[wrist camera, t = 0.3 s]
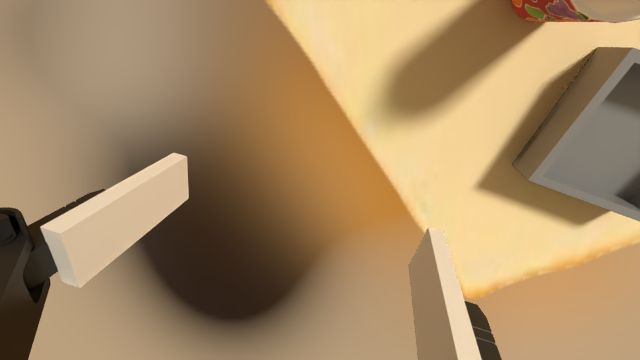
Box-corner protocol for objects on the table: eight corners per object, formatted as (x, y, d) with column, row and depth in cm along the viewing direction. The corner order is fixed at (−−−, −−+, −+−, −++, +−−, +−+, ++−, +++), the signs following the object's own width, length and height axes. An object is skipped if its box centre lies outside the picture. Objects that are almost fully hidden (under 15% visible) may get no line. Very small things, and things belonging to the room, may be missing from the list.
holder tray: (597, 47, 30) (632, 47, 26) (740, 93, 29) (802, 102, 25) (512, 164, 37) (527, 180, 33) (623, 204, 36) (654, 227, 32)
